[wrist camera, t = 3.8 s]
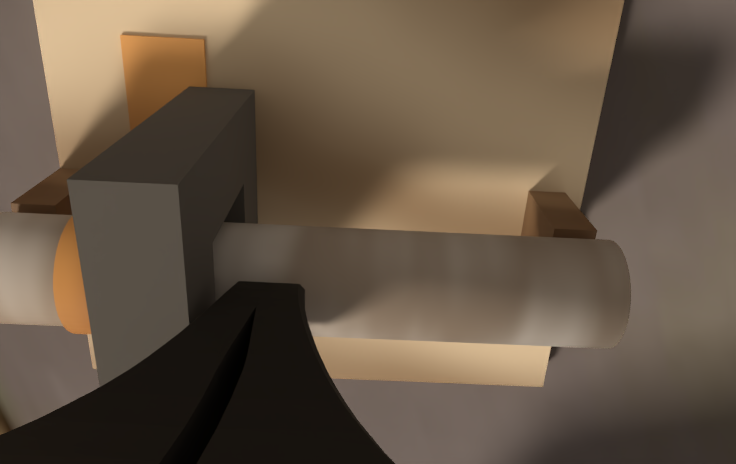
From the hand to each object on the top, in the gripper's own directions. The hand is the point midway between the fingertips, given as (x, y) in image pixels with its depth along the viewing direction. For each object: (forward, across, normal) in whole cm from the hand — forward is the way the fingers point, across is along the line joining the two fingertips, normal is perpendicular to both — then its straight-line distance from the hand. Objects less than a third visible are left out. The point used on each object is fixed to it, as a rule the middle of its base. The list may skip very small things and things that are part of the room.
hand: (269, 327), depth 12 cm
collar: (+5, +2, 0) cm, 6 cm away
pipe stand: (+6, -1, 0) cm, 6 cm away
